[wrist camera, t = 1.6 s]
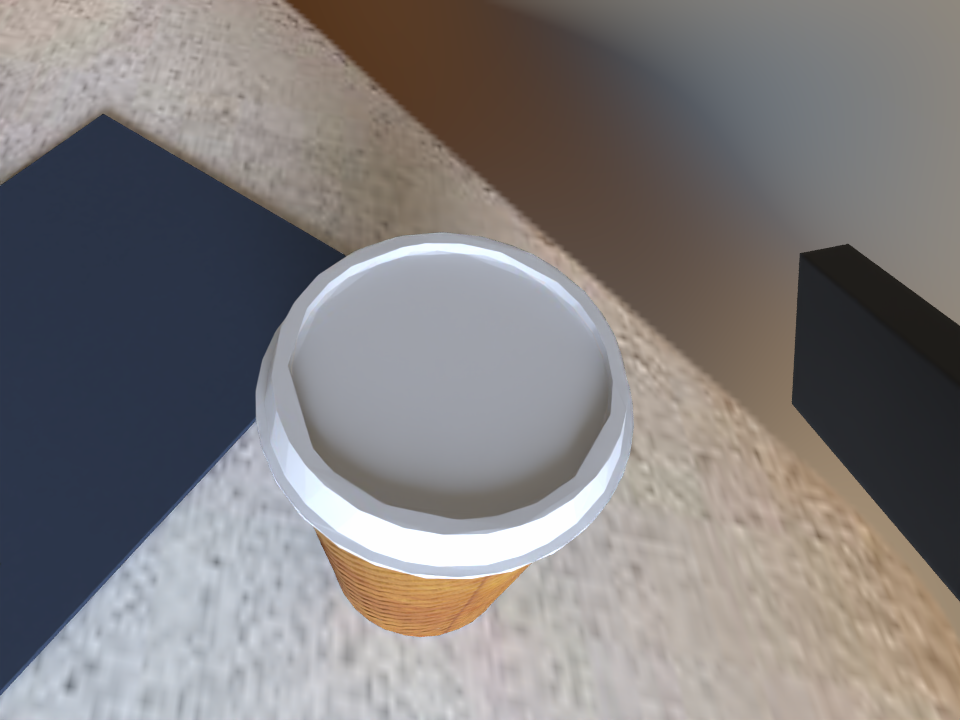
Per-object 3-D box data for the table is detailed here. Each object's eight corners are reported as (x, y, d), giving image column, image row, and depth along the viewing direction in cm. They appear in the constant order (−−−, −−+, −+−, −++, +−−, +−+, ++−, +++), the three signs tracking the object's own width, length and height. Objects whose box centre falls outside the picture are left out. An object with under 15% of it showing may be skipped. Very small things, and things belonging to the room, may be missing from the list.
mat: (-389, 464, 29) (-395, 461, 29) (104, 117, 40) (103, 113, 40) (-47, 746, 26) (-51, 745, 25) (384, 281, 37) (385, 278, 37)
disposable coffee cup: (325, 408, 33) (312, 188, 23) (566, 457, 33) (656, 258, 23) (249, 656, 28) (190, 508, 18) (536, 713, 28) (635, 597, 18)
